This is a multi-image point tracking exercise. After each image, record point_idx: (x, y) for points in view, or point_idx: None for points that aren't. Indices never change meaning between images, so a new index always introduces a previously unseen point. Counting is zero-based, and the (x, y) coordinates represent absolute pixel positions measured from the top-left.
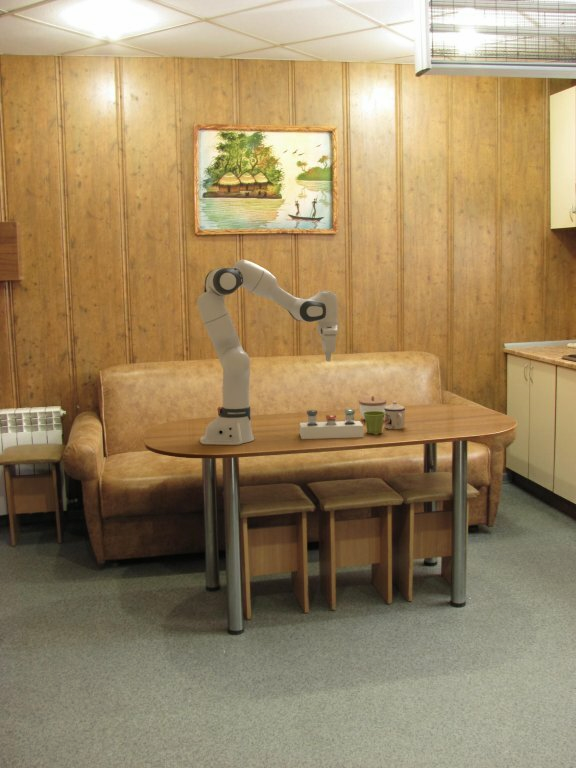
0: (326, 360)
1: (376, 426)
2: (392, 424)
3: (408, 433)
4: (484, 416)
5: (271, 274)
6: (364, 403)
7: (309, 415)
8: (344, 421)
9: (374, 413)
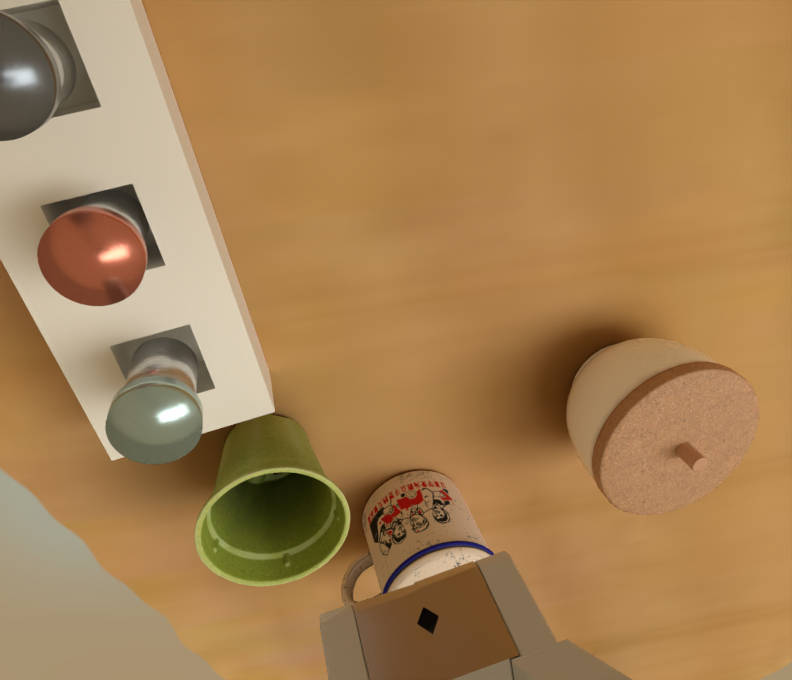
0: (328, 620)
1: (221, 496)
2: (368, 528)
3: (274, 585)
4: None
5: None
6: (622, 411)
7: None
8: (236, 320)
9: (340, 508)
